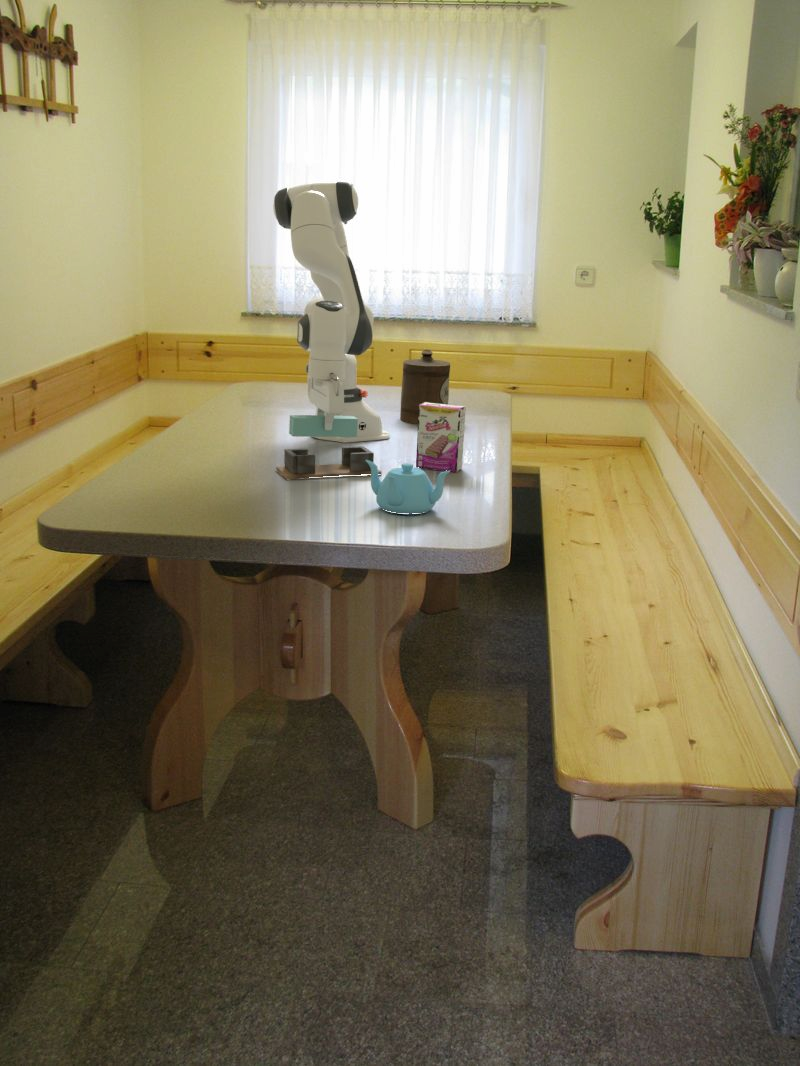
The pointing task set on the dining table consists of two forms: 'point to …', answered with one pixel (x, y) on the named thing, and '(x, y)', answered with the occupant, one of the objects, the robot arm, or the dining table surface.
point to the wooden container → (423, 385)
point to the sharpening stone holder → (304, 464)
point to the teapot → (406, 489)
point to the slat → (322, 426)
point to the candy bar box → (440, 436)
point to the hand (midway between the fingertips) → (324, 427)
